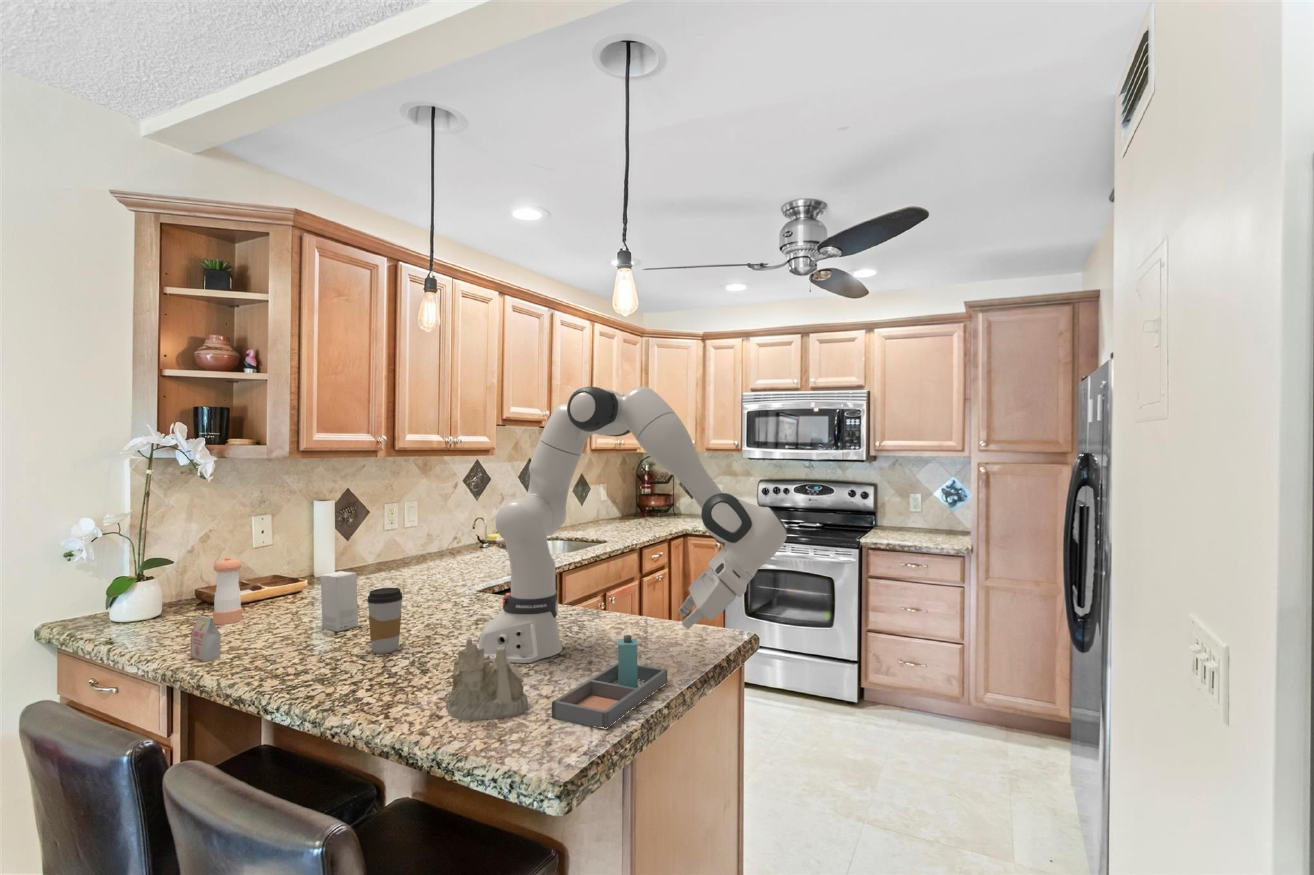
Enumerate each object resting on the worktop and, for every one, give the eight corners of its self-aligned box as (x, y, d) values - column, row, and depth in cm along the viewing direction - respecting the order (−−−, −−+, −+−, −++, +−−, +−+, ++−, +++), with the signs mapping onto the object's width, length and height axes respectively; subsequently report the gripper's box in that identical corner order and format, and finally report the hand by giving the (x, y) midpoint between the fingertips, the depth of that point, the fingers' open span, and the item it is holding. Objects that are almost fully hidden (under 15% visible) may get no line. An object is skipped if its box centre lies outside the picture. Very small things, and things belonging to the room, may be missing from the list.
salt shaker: (231, 624, 187) (231, 559, 187) (206, 624, 187) (207, 559, 188) (247, 617, 194) (247, 555, 195) (224, 618, 195) (224, 555, 195)
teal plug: (618, 693, 132) (618, 639, 132) (618, 686, 136) (618, 633, 136) (637, 692, 132) (637, 638, 132) (637, 685, 136) (636, 633, 136)
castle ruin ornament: (525, 717, 120) (522, 636, 121) (436, 725, 119) (434, 642, 120) (534, 691, 136) (531, 619, 137) (455, 698, 134) (453, 625, 135)
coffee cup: (408, 649, 162) (408, 590, 162) (375, 657, 156) (375, 596, 156) (394, 642, 168) (393, 585, 168) (361, 650, 162) (361, 591, 162)
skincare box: (358, 627, 183) (358, 572, 184) (336, 632, 178) (336, 576, 178) (341, 622, 188) (341, 570, 188) (319, 628, 182) (319, 573, 183)
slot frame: (606, 729, 115) (606, 713, 115) (551, 717, 120) (551, 701, 120) (667, 683, 137) (667, 669, 137) (619, 675, 142) (618, 661, 142)
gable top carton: (207, 653, 161) (207, 613, 161) (220, 657, 157) (220, 617, 157) (190, 657, 157) (190, 616, 158) (203, 662, 154) (203, 620, 154)
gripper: (710, 554, 146) (668, 597, 145) (724, 571, 125) (675, 622, 125) (730, 573, 146) (688, 617, 145) (747, 593, 126) (698, 644, 125)
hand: (682, 619), depth 135 cm, fingers open, 8 cm apart
